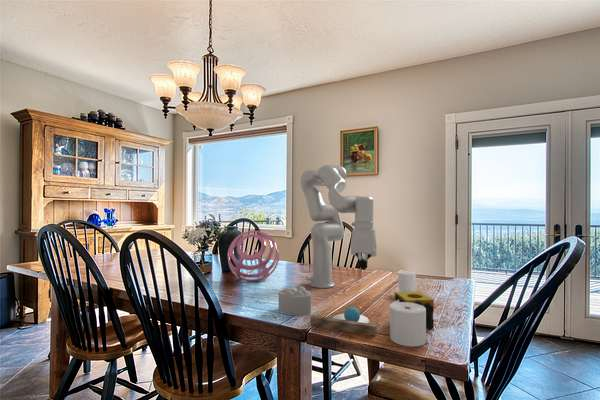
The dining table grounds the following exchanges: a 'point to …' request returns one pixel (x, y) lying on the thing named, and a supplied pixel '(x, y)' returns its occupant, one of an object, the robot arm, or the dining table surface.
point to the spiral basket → (253, 257)
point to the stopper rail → (344, 325)
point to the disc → (362, 320)
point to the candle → (421, 300)
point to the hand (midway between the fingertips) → (363, 269)
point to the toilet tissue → (407, 323)
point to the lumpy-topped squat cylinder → (294, 301)
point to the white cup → (406, 281)
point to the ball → (352, 314)
